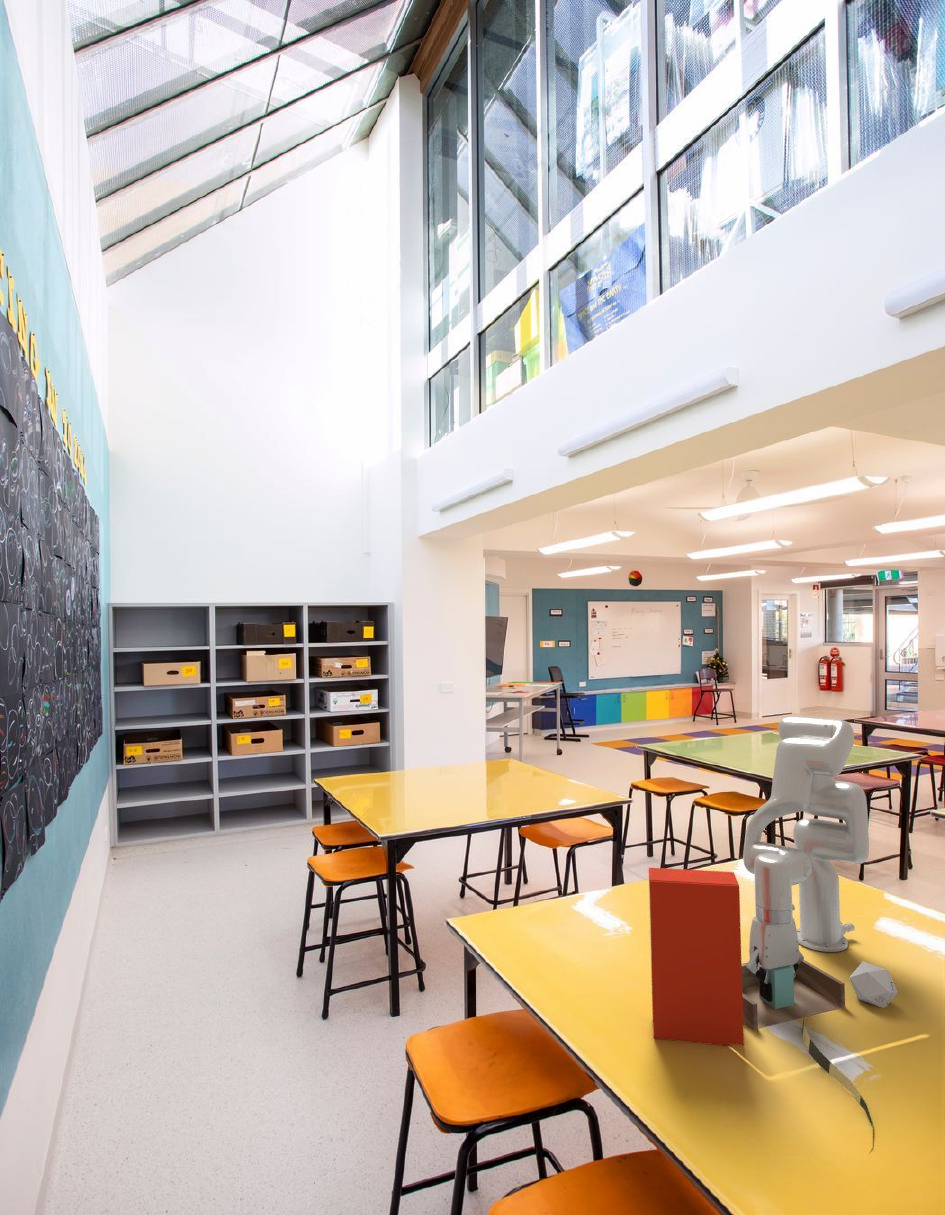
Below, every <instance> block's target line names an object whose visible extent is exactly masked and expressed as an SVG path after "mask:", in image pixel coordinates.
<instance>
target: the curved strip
mask: <svg viewBox="0 0 945 1215" xmlns="http://www.w3.org/2000/svg"><path fill="white" fill-rule="evenodd" d="M801 1030H802V1041H803V1043H804V1045H805V1047H806V1050H807V1052H808V1054H809V1055H810V1056H811V1058H813V1060H814V1061H815V1062H816V1063H817V1065H819V1066H820V1067H821V1068H822V1069H823V1070H824V1071H825V1072H826V1073H828V1074H829V1075H830V1077H832V1078H833V1079H835V1080H836V1081H837V1082H838V1083H839V1084H840V1085H841V1086H843V1087H844V1088H845V1089H846V1090H847V1091H849V1092H850V1093H851V1094H852V1096H853V1097H854V1099H855V1100H856V1101H857V1102H858V1104H859V1105H860V1106H861V1107H862V1109H863V1110H864V1112H865V1114H866V1117H867V1119H868V1122H869V1124H870V1126H871V1128H872V1129H871V1130H872V1135H874V1123H873V1119H872V1117H871V1113H870V1111H869V1108H868V1105H867V1103H866V1101H865V1099H864V1098H863V1096H862V1095H861V1093H860V1092H859V1091H858V1089H857V1088H856V1085H854V1083H853V1082H852V1081H851V1080H850V1079H849V1078H848V1077H847V1076H846V1075H845V1074H843V1072H841V1071H840V1070H839V1068H837V1067H836V1066H835V1065H834V1064H833V1063H832V1061H830V1060H829V1058H827V1057H826V1056H825V1055H824V1054H823V1053H822V1052H821V1050H820V1049H819V1047H817V1045H816V1044H815V1043H814V1041H813V1040H812V1039H811V1036H810V1035H809V1033H808V1030H807V1029H806V1027H805V1017H803V1020H802V1028H801ZM873 1149H874V1147H872V1148H871V1149H870V1152H869V1154H870V1153H871V1152H872V1151H873ZM869 1154H868V1155H869Z"/></svg>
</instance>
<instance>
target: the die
mask: <svg viewBox="0 0 945 1215" xmlns="http://www.w3.org/2000/svg"><path fill="white" fill-rule="evenodd" d="M848 979H849V981H850V984H851V986H852V988H853V990H854V993H855V995H856V997H857V999H859V1001H861V1002H864V1003H868V1004H870V1005H872V1006H876V1007H878V1008H883V1009H885V1008H887V1007H888V1006H889V1004H890V1003H892V1001H893V999H894V998H895V997H896V996H897V995H898V993H899V991H898V988H897V987H896V985H895V983H894V980H893V978H892V976H891V973H890V972H889V969H887V968H885V967H881V966H878V965H875V964H873V963H869V962H866V961H862V962H861V963H860V964H859V965H858V966H857V967H856V969H855V970H854V971H853V972H852V974H850V976H849V977H848Z"/></svg>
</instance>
